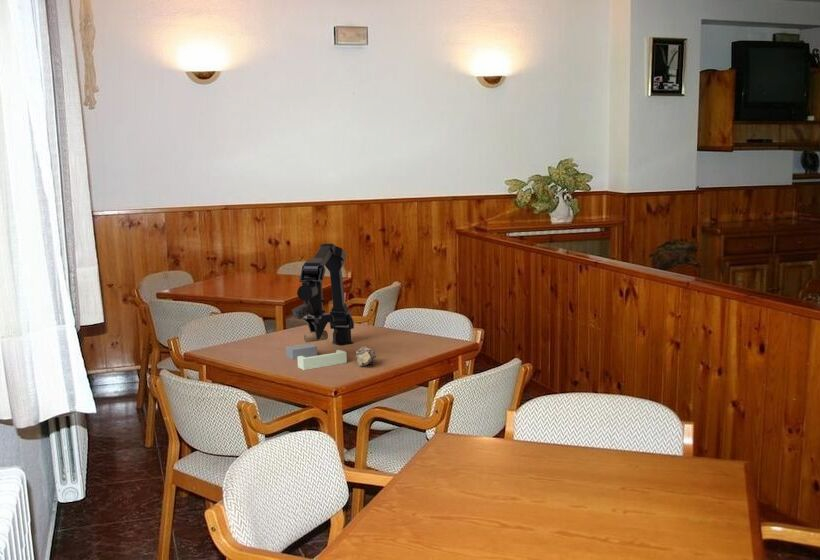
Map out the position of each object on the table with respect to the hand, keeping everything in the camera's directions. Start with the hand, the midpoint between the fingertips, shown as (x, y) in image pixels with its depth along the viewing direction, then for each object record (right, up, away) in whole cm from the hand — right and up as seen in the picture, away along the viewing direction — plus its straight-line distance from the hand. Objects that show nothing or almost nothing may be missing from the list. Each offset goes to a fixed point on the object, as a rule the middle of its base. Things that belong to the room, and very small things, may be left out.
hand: (316, 338), depth 305 cm
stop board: (+3, -10, -2) cm, 10 cm away
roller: (0, -1, 0) cm, 1 cm away
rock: (+18, -10, -3) cm, 20 cm away
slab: (-7, -8, +12) cm, 16 cm away
